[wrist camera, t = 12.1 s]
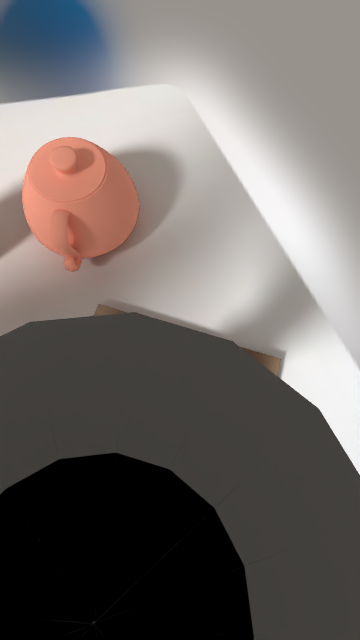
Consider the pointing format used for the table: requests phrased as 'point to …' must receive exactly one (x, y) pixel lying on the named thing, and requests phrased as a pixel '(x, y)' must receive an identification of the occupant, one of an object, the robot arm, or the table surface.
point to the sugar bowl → (78, 199)
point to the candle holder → (167, 491)
